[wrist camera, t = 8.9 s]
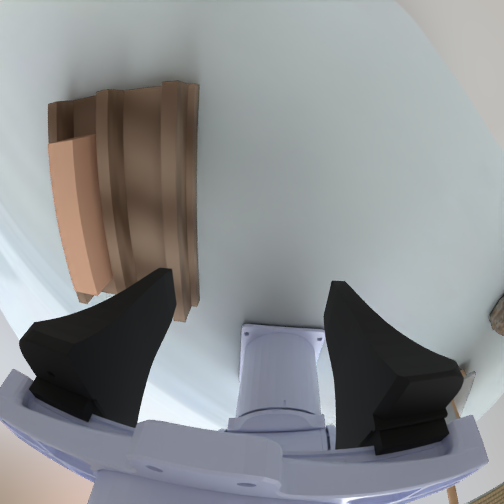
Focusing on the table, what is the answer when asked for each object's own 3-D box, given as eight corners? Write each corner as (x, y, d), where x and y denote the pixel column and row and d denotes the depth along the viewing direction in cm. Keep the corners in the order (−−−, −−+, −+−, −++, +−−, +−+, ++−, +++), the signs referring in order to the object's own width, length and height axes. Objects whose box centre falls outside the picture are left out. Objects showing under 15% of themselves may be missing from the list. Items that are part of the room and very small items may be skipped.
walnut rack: (199, 300, 25) (190, 323, 22) (91, 283, 25) (75, 301, 23) (199, 85, 17) (185, 80, 14) (68, 103, 17) (44, 105, 14)
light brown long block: (119, 270, 23) (97, 295, 19) (97, 267, 23) (74, 291, 20) (104, 133, 17) (72, 140, 14) (80, 136, 18) (48, 144, 14)
